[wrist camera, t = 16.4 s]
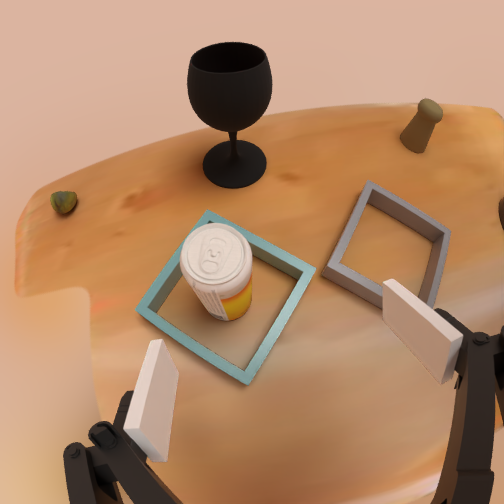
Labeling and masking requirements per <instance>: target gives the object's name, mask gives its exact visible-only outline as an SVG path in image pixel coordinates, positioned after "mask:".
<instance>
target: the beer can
mask: <svg viewBox="0 0 504 504" xmlns="http://www.w3.org/2000/svg"><path fill="white" fill-rule="evenodd" d="M180 268H181V271H182V274H183V276H184V277H185V279H186V280H187V282H188V283H189V285H190V286H191V288H192V289H193V291H194V292H195V294H196V295H197V296H198V298H199V299H200V301H201V302H202V304H203V305H204V306H205V308H206V309H207V311H208V312H209V313H210V314H211V315H212V316H214V317H215V318H217V319H220V320H225V321H229V320H234V319H237V318H239V317H241V316H242V315H243V314H245V313H246V311H247V310H248V308H249V307H250V304H251V299H252V251H251V248H250V245H249V243H248V241H247V240H246V238H245V237H244V236H243V235H242V234H241V233H240V232H238V231H237V230H236V229H234V228H233V227H231V226H228V225H226V224H221V223H211V224H206V225H203V226H201V227H199V228H197V229H195V230H194V231H193V232H192V233H191V234H190V235H189V236H188V237H187V239H186V240H185V242H184V245H183V247H182V250H181V254H180Z"/></svg>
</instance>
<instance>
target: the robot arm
mask: <svg viewBox="0 0 504 504" xmlns="http://www.w3.org/2000/svg"><path fill="white" fill-rule="evenodd" d="M499 214H500V219H501V222H502V225H503V228H504V197H503V198H502V199H501V201H500V204H499ZM382 290H383V321H384V322H385V323H386V324H387V325H388V326H389V327H390V329H391V330H392V331H393V332H394V333H395V334H396V335H397V336H398V337H399V338H400V339H401V341H402V342H403V343H404V344H405V345H406V346H407V347H408V348H409V349H410V351H411V352H412V353H413V354H414V355H415V356H416V357H417V358H418V360H419V361H420V362H421V363H422V364H423V365H424V366H425V368H426V369H427V370H428V371H429V372H430V373H431V374H432V376H433V377H434V378H435V379H436V380H437V381H438V383H439V384H440V385H442V384H443V383H445V382H447V381H449V380H450V379H452V377H453V374H454V370H455V371H456V372H457V373H458V374H459V375H458V378H457V381H456V384H455V387H454V389H456V398H455V406H454V414H453V420H452V427H451V432H450V438H449V443H448V448H447V452H446V457H445V461H444V465H443V469H442V473H441V476H440V480H439V483H438V487H437V490H436V493H435V496H434V498H433V500H432V502H431V504H489V502H490V497H491V493H492V487H493V482H494V472H493V471H491V469H490V467H491V459H492V451H493V441H494V427H495V393H496V396H497V400H498V404H499V407H500V411H501V416H502V420H503V425H504V326H503V327H502V329H501V332H500V334H497V335H494V336H489V335H488V334H485V333H483V332H475V333H473V332H471V331H470V330H469V329H468V328H467V327H465V326H464V325H463V324H462V323H460V322H459V321H457V319H455V318H454V317H452V315H450V314H449V313H448V312H447V311H444V310H442V309H439V308H437V309H435V310H433V309H431V308H430V307H429V306H428V305H426V304H425V303H424V302H423V301H421V300H420V299H419V298H418V297H416V296H415V295H414V294H412V293H411V292H410V291H409V290H407V289H406V288H405V287H403V286H402V285H401V284H400V283H398V282H397V281H396V280H394V279H393V278H392V279H390V280H387V281H384V282H382ZM178 377H179V372H178V370H177V368H176V366H175V364H174V362H173V360H172V358H171V356H170V354H169V352H168V350H167V347H166V345H165V343H164V341H163V339H157V340H152V341H150V344H149V347H148V350H147V353H146V356H145V359H144V362H143V365H142V368H141V371H140V374H139V377H138V380H137V384H136V387H135V390H134V391H127V392H126V393H125V394H124V396H123V397H122V398H121V401H120V404H119V407H118V410H117V413H116V416H115V420H114V423H113V425H112V424H111V423H110V422H107V421H101V422H98V423H96V424H95V425H93V426H92V428H91V429H90V430H89V434H88V436H89V439H90V440H91V441H92V443H93V444H94V445H95V446H92V447H88V448H86V447H84V446H83V445H82V444H81V443H78V442H75V443H71V444H70V445H68V446H67V447H66V448H65V451H64V454H63V458H64V467H65V475H66V482H67V489H68V495H69V501H70V504H124V503H123V501H122V498H121V495H120V492H119V489H118V486H117V483H116V481H119V483H120V484H121V486H122V487H123V489H124V490H125V492H126V493H127V495H128V496H129V497H130V499H131V500H132V501H133V503H134V504H183V503H182V502H181V501H180V500H179V499H178V498H177V497H176V496H175V495H174V494H173V493H172V492H171V490H170V489H169V488H168V487H167V486H166V485H165V484H164V483H163V482H162V481H161V479H160V478H159V477H158V476H157V475H156V474H155V472H154V471H153V470H152V469H151V468H150V467H149V465H148V464H147V463H146V459H147V457H148V458H149V459H150V460H151V461H152V462H167V460H168V451H169V442H170V434H171V426H172V419H173V411H174V404H175V397H176V390H177V384H178ZM456 387H457V388H456Z"/></svg>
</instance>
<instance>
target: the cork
mask: <svg viewBox="0 0 504 504" xmlns="http://www.w3.org/2000/svg"><path fill="white" fill-rule="evenodd" d="M442 117H443V111H442V109H441V107H440V106H439V105H438V104H437V103H436V102H434V101H432V100H430V99H423V100H421V101H420V102H419V104H418V112H417V113H416V115H415V116H414V118H413V119H412V120H411V122H410V123H409V124H408V126H407V127H406V128H405V129H404V131H403V132H402V133H401V135H400V139H401V141H402V143H403V144H404V145H405V146H406V147H407V148H408V149H409V150H411V151H413V152H415V153H423V152H424V151H425V148H426V146H427V144H428V141H429V139H430V136H431V134H432V131H433V129H434V126H435V124H436V123H438V122H440V121H441V119H442Z"/></svg>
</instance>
